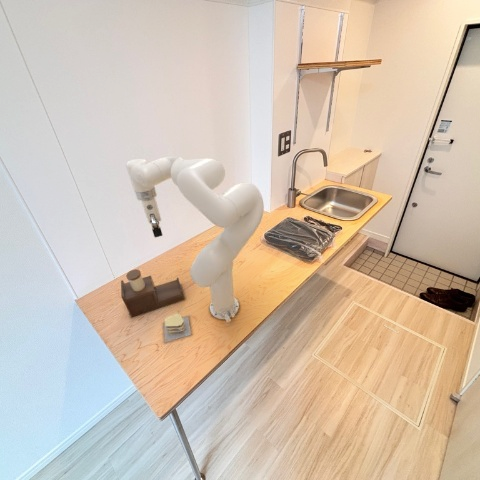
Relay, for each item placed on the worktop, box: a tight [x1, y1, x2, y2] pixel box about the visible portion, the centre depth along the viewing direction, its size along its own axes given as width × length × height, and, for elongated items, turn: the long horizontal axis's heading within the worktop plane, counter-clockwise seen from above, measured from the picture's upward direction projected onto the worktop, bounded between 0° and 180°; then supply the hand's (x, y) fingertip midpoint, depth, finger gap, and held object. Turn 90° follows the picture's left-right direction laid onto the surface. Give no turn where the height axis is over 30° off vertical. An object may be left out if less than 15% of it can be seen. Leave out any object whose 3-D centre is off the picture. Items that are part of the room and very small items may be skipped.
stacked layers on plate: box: [163, 313, 192, 343], centre depth 97 cm, size 10×9×6 cm
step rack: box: [120, 275, 185, 318], centre depth 108 cm, size 10×23×13 cm, turn 113°
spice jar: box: [125, 269, 145, 291], centre depth 102 cm, size 6×6×8 cm
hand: (157, 230), depth 103 cm, fingers open, 9 cm apart
